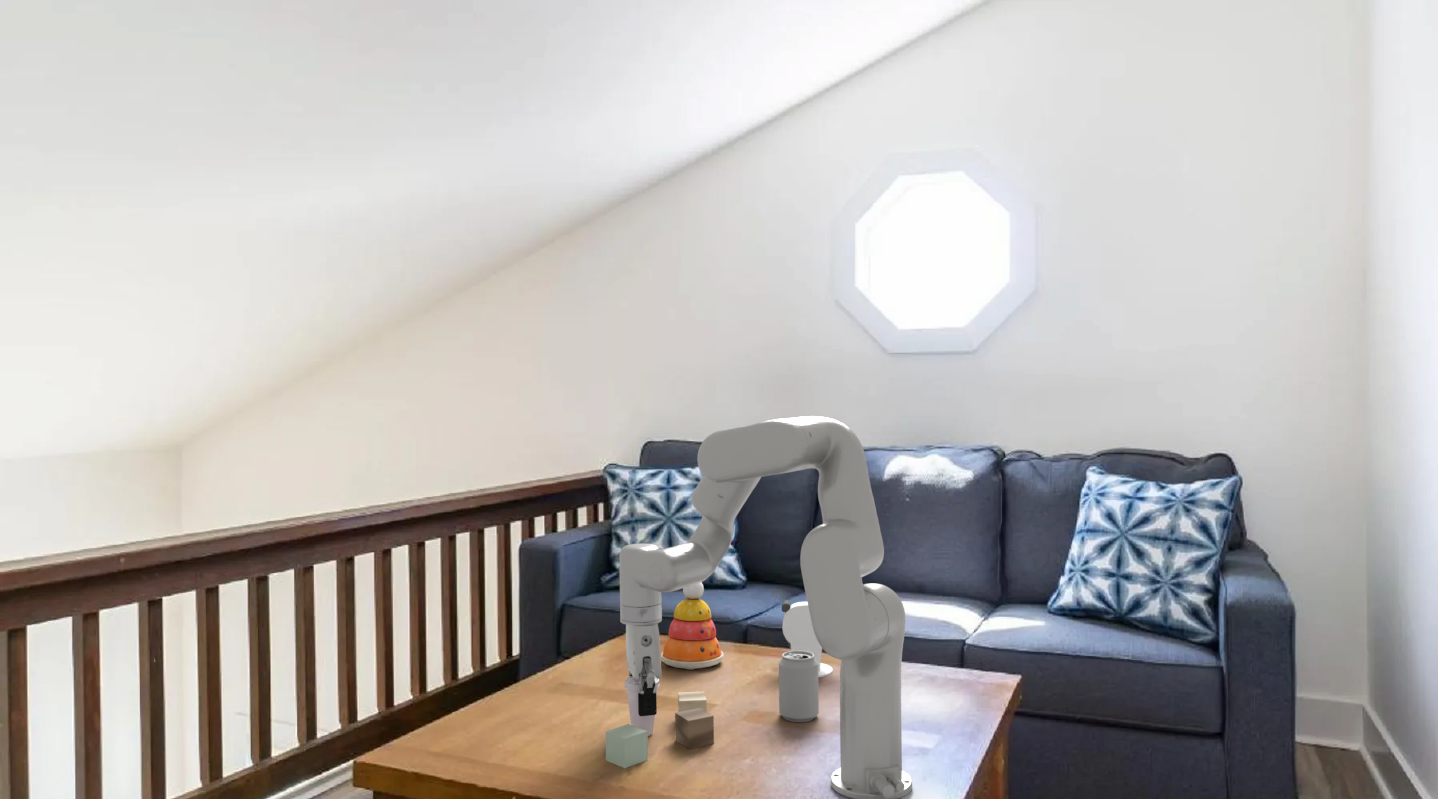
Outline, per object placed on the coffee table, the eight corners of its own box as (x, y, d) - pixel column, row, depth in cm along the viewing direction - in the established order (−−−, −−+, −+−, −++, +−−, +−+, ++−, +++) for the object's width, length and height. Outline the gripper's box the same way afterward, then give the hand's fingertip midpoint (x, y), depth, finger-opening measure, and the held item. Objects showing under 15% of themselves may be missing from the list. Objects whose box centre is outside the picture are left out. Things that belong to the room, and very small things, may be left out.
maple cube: (706, 726, 187) (706, 699, 187) (679, 727, 187) (679, 700, 186) (704, 717, 192) (704, 691, 192) (678, 718, 192) (678, 692, 191)
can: (816, 724, 187) (815, 660, 187) (776, 722, 189) (775, 658, 188) (820, 711, 194) (820, 649, 194) (782, 709, 196) (781, 647, 196)
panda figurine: (835, 663, 227) (834, 596, 226) (836, 678, 215) (835, 608, 215) (781, 662, 228) (780, 596, 228) (779, 677, 217) (778, 607, 216)
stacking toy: (688, 676, 218) (687, 586, 218) (647, 663, 229) (646, 577, 228) (736, 663, 228) (735, 577, 227) (695, 651, 238) (694, 569, 238)
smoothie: (618, 735, 182) (617, 658, 182) (637, 724, 188) (636, 650, 188) (648, 741, 179) (647, 663, 179) (667, 730, 185) (665, 654, 185)
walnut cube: (713, 743, 178) (713, 715, 178) (688, 749, 176) (688, 720, 176) (700, 735, 182) (699, 707, 182) (675, 740, 180) (675, 712, 180)
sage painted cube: (647, 760, 171) (647, 731, 171) (624, 768, 167) (624, 738, 167) (628, 752, 174) (628, 724, 174) (605, 760, 171) (605, 731, 171)
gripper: (671, 622, 176) (672, 720, 176) (652, 601, 193) (653, 690, 193) (628, 625, 174) (630, 724, 174) (613, 604, 191) (614, 694, 191)
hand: (642, 706), depth 184 cm, fingers open, 9 cm apart
